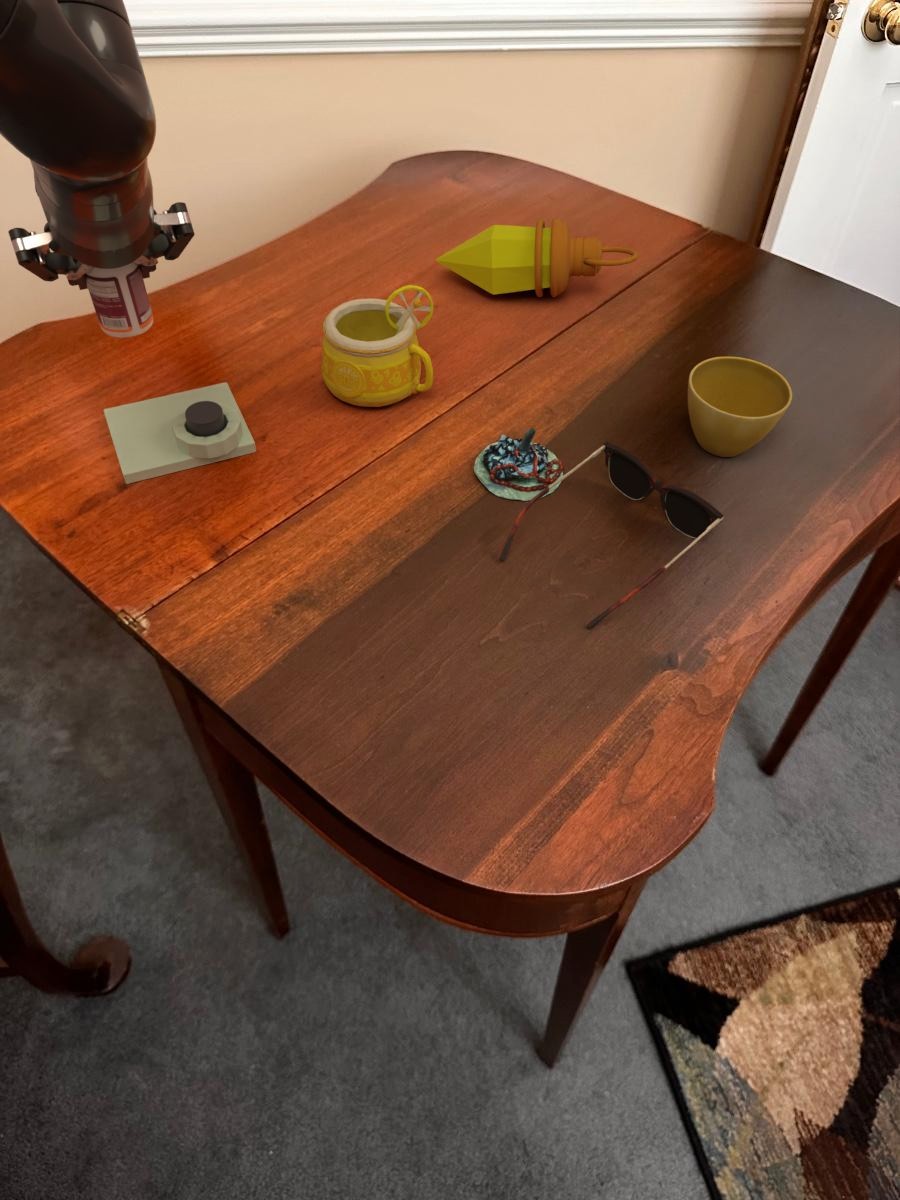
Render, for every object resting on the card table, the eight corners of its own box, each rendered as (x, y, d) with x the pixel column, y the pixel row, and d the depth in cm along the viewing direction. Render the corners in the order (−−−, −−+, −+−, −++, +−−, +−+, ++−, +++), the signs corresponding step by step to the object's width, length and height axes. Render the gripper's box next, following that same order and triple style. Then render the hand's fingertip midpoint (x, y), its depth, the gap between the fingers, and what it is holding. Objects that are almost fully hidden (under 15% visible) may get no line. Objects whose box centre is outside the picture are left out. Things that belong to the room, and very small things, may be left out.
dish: (531, 412, 90) (538, 416, 82) (565, 472, 91) (575, 481, 84) (465, 454, 91) (466, 461, 83) (500, 511, 92) (504, 524, 85)
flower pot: (736, 488, 87) (758, 431, 82) (654, 441, 91) (669, 384, 86) (787, 443, 92) (811, 386, 86) (706, 400, 96) (724, 344, 91)
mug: (303, 398, 94) (292, 297, 85) (353, 347, 101) (347, 248, 92) (409, 433, 91) (409, 331, 82) (453, 377, 98) (457, 278, 88)
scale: (127, 489, 84) (119, 465, 82) (106, 418, 91) (98, 394, 89) (258, 456, 88) (254, 433, 85) (228, 390, 95) (224, 367, 92)
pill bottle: (139, 304, 81) (116, 216, 75) (163, 327, 79) (141, 238, 73) (91, 321, 79) (62, 232, 73) (114, 345, 77) (87, 255, 71)
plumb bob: (430, 308, 108) (636, 305, 104) (425, 230, 102) (641, 224, 98) (441, 286, 115) (634, 283, 111) (437, 213, 110) (639, 207, 106)
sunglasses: (713, 549, 81) (726, 512, 77) (601, 647, 75) (608, 612, 71) (600, 475, 88) (607, 437, 84) (487, 559, 81) (489, 522, 77)
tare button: (193, 441, 85) (189, 427, 84) (184, 419, 87) (181, 405, 86) (229, 432, 86) (226, 418, 85) (220, 411, 88) (217, 397, 87)
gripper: (6, 267, 59) (41, 330, 76) (213, 231, 64) (204, 299, 80) (-30, 155, 59) (13, 244, 75) (182, 126, 63) (180, 217, 79)
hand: (112, 272), depth 77 cm, fingers closed on pill bottle, 4 cm apart
